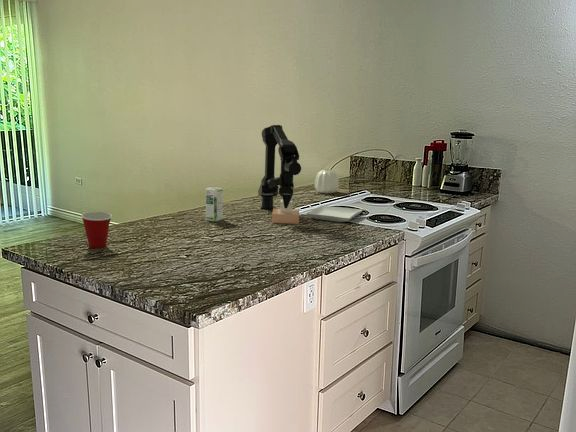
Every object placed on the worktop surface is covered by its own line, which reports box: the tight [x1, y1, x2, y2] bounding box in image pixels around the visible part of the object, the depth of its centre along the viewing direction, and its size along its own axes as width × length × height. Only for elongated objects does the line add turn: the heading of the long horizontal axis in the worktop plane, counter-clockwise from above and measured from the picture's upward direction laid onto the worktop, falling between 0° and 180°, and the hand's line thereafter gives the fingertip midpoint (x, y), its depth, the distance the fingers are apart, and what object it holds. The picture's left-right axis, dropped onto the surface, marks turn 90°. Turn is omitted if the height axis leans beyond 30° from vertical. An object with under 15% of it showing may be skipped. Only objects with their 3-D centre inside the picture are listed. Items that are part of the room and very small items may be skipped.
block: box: [279, 199, 293, 213], centre depth 259 cm, size 5×5×5 cm
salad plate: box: [306, 205, 363, 223], centre depth 269 cm, size 21×21×3 cm
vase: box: [314, 168, 340, 195], centre depth 333 cm, size 14×14×13 cm
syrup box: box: [205, 186, 224, 222], centre depth 256 cm, size 6×6×14 cm
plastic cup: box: [80, 211, 113, 249], centre depth 209 cm, size 11×11×12 cm
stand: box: [271, 208, 300, 225], centre depth 260 cm, size 12×12×4 cm
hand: (286, 206), depth 259 cm, fingers open, 9 cm apart
